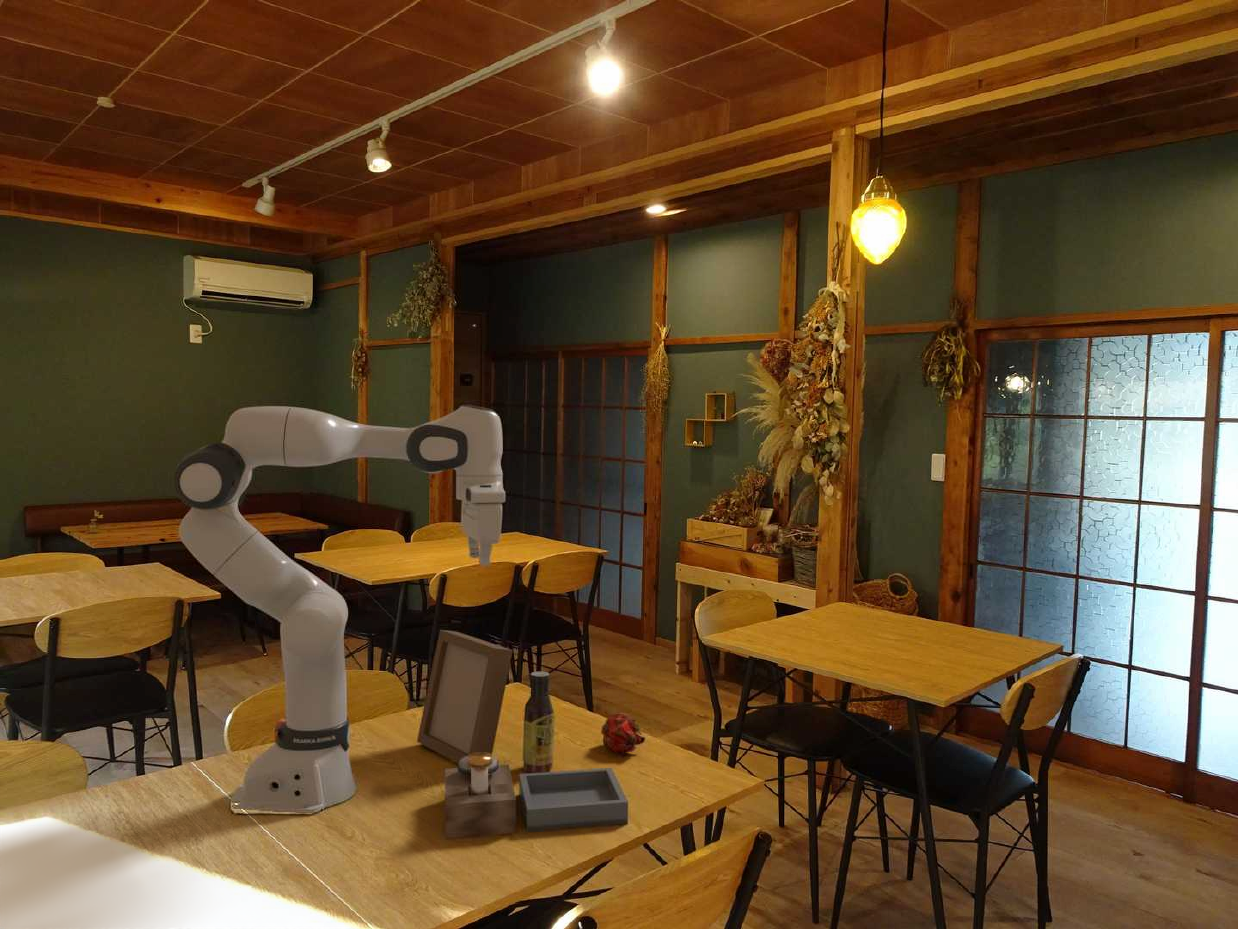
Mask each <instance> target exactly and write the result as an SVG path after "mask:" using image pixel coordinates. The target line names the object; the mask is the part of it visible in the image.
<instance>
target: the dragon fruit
mask: <svg viewBox="0 0 1238 929" xmlns="http://www.w3.org/2000/svg"><path fill="white" fill-rule="evenodd" d="M635 722H636V719H635V718H634V716H628V715H627V714H626V713H624V712H618V713H613V714H611V715H610V716H609V717H608V718H607V719H606V720H605V723H604V724H603V725H602V727H601V732H600V733H601V735H602V736H603V738H602V743H603V745H604V748H605V749H608V748H610V749H611V750H612V752H614V754H615V755H618V754H619V755H618V756H625V751H628V752H634V751H635V750H637V745H638V746H639V745H642V744H643V743H644V742H645V740H646V737H645V736H641V735H642V732H641V731H640V730H641V729H640V728H639V725H638V724H636V723H635Z"/></svg>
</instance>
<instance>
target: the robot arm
mask: <svg viewBox="0 0 1238 929" xmlns="http://www.w3.org/2000/svg"><path fill="white" fill-rule="evenodd" d="M503 439H504V438H503V427H502V421H501V418H500V416H499V415H498V413H496V411H494V410H493V409H491V408H487V407H483V406H476V405H471V404H463V405H460V406H459V408H458V409H455V410H454V411H453V412H450V413H448V414H446V415H445V416H442V417H440V418H437V419H435V420H432V421H427V422H423V423H421V424H419V425H415V426H412V427H398V426H396V427H395V426H384V425H383V426H382V425H370V424H369V425H368V424H362V423H359V422H358V423H357V422H354V421H350V420H348V419H344V418H342V417H340V416H337V415H334V414H331V413H328V412H323V411H319V410H317V409H316V410H315V409H311V408H305V407H296V406H282V405H281V406H279V405H278V406H277V405H268V406H267V405H266V406H264V405H263V406H251V407H249V406H248V407H242V408H239V409H237V410H236V411H234V412H233V413H232V414H231V415H230V417H229V418H228V420H227V422H226V426H225V430H224V437H223V439H222V441H215V442H213V443H210V444H208V445H205V446H203V447H201V448H198V449H197V450H194V451H193V452H190V453H189V454H187V455H186V456H185V457H183V458H182V459H181V461H180V462H179V463H178V464H177V466H176V468H175V470H174V472H173V478H172V479H173V481H172V482H173V488H174V491H175V493H176V494H177V496H178V498H179V499H180V500H181V501H182V502H183V503H184V504H186V505H188V506H189V507H191V508H190V509H189V510H188V512H187V513H186V514H185V515H184V517H183V518H182V519H181V522H180V524H179V528H178V537H179V540H180V541H181V542H182V544H183V545H184V546H185V547H186V549H187V550H188V551H189V552H190V554H191V555H192V556H193V557H194V558H195V559H196V560H197V561H198V562H199V563H200V564H201V565H202V566H203V568H205V569H206V570H207V571H209V573H211V574H212V575H213V576H214V577H215V578H216V579H217V580H218V581H220V583H222V584H223V585H224V586H226V587H227V588H228V589H229V590H230V591H232V592H233V593H234V594H235V595H236V596H237V597H238V598H240V600H242V601H243V602H244V603H246V604H247V605H250V606H253V608H254V607H255V608H256V609H258V610H260V611H261V612H263V613H265V614H267V615H269V616H270V617H271V618H274V620H277V621H278V622H279V623H280V629H279V631H280V634H279V635H280V646H281V647H280V648H281V656H282V657H281V658H282V659H281V660H282V666H283V667H282V668H283V673H284V674H283V675H284V681H285V685H284V686H285V718H279V719H278V720H277V722H276V724H275V727H274V728H275V730H274V742H275V743H274V744H272V745H271V746H269V748H268V749H266V750H265V751H264V752H262V753H261V754H260V755H258V756H257V757H256V758H254V760H253V761H252V762H251V763H249V764H250V765H249V766H248V768H247V769H246V772H245V775H244V779H243V782H242V784H241V785H239V787H238V786H237V788H236V789H235V790H234V792H233V793H232V795H231V797H230V800H231V801H230V802H229V804H230V803H240V804H238V805H232V807H233V808H234V809H243V810H246V809H247V810H252V809H253V810H260V811H268V812H269V811H273V812H295V813H306V814H307V813H315V812H317V811H319V810H321V809H323V810H324V808H325V807H327V806H329V805H332V806H334V805H333V804H335V805H338V804H340V803H342V802H345V801H347V800H348V799H350V798H352V797H353V796H354V795H355V793H356V792H357V785H356V782H355V780H354V775H353V772H352V771H353V770H352V766H351V760H350V753H349V752H350V751H349V749H350V748H349V747H350V745H351V725H350V718H349V717H348V714H347V712H348V709H347V708H348V704H347V703H348V701H347V700H348V698H347V695H348V694H347V687H348V686H347V673H346V658H345V657H346V656H345V641H344V640H345V639H344V637H345V636H344V635H345V631H346V630H345V628H346V625H347V622H348V618H349V609H348V605H347V602H346V600H345V599H344V597H343V595H342V594H340V593H339V592H338V590H336V589H335V588H333V587H331V586H330V585H328V584H327V583H326V582H324V581H323V580H321V579H320V577H318V576H316V575H315V574H313V573H312V572H311V571H309V570H308V569H306V568H304V567H303V566H302V565H300V564H299V563H297V562H296V561H295V560H293V559H291V558H290V557H289V556H288V555H286V554H285V553H284V551H282V550H281V549H279V547H277V546H276V545H275V544H274V543H273V542H272V541H270V539H268V538H267V537H266V536H265V535H264V534H262V533H261V532H260V531H258V529H256V527H255V526H254V525H252V524H251V523H250V522H248V521H247V520H246V519H245V518H244V516H243V515H242V514H241V513H240V511H239V506H241V505H242V503H243V500H244V499H245V497H246V495H247V493H248V491H249V489H251V486H252V484H253V480H254V476H255V468H257V467H259V466H282V467H296V468H301V467H302V468H303V467H304V468H306V467H307V468H308V467H319V466H324V465H325V466H326V465H329V464H330V465H331V464H334V463H337V462H340V461H344V460H348V459H349V460H350V459H354V458H379V459H380V458H381V459H391V460H392V459H395V460H403V461H409V462H410V463H411V464H412V466H413V467H415V468H416V469H418V470H419V471H421V472H424V473H427V474H437V473H442V472H444V471H447V470H455V473H456V476H455V477H456V478H455V487H456V490H455V491H456V492H455V499H456V500H459V501H461V511H460V512H461V514H460V528H461V532H462V533H464V534H465V535H467V544H468V549H469V550H468V552H469V553H468V554H469V557H470V558H471V559H478V563H479V565H481V566H482V567H485V566H486V567H487V566H488V567H489V565H491V555H492V554H491V553H492V548H493V545H495V544H498V543H499V542H500V539H501V535H502V521H503V505H502V504H503V503H505V502H506V491H505V490H504V483H503V481H504V480H503V476H504V474H503V473H504V472H503V469H502V465H501V464H502V463H501V461H502V455H503V452H504V451H503V448H504V447H503V445H504V444H503ZM337 803H338V804H337ZM249 807H250V808H249ZM329 807H330V806H329ZM327 808H328V807H327ZM325 809H326V808H325ZM315 814H316V813H315Z"/></svg>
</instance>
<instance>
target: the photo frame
mask: <svg viewBox="0 0 1238 929" xmlns="http://www.w3.org/2000/svg"><path fill="white" fill-rule="evenodd" d="M513 651H514V650H513V649H510V648H507V647H504V646H501V645H498V644H494V643H491V642H489V641H487V640H483V639H481V638H477V637H474V636H471V635H467V634H466V633H462V632H459V631H454V630H453V631H452V630H445V629H440V630H439V633H438V638H437V642H436V648H435V652H434V653H435V654H434V658H433V662H432V666H431V672H430V677H429V682H428V685H427V687H428V688H427V691H426V697H425V700H424V705H423V709H422V715H421V719H420V725H419V730H418V734H417V739H416V742H417V743H419V744H421V745H423V746H425V747H427V748H428V749H430V750H432V751H434V752H436V753H438V754H440V755H442V756H443V757H446V758H447V759H449V760H451V761H452V762H455V763H456V764H458V762H459V761H460V760H461V759H462V758H464V757H466V756H468V755H469V754H471V753H474V752H488V753H490V754H492V755H493V751H494V746H495V741H496V737H497V732H498V727H499V726H498V725H499V721H500V716H501V711H502V707H503V706H502V705H503V702H504V697H505V696H504V695H505V690H506V685H507V680H508V675H509V670H510V666H511V660H512V657H513Z"/></svg>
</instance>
